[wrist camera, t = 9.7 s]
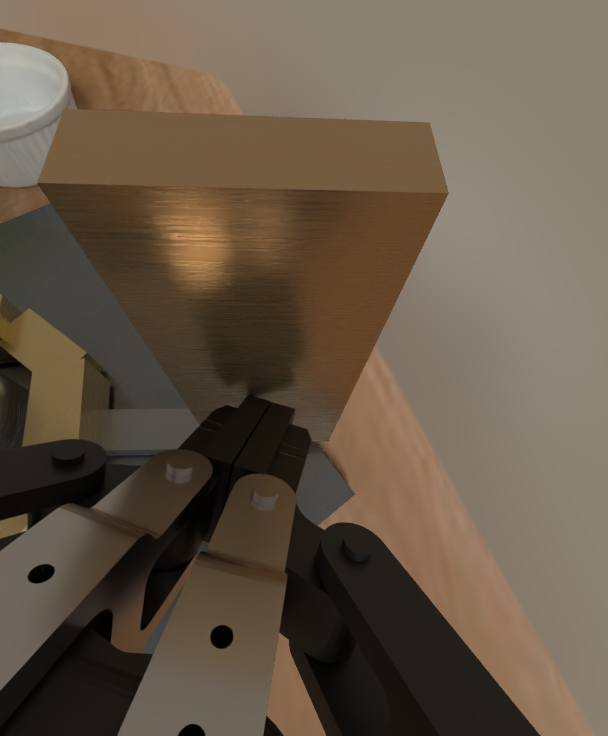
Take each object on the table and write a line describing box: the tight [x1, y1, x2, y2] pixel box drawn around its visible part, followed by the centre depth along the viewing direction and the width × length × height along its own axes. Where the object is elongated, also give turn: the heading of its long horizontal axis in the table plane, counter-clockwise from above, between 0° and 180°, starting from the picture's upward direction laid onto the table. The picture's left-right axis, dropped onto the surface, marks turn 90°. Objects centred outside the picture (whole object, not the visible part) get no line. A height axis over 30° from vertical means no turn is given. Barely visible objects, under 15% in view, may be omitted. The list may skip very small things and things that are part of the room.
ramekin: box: [0, 42, 77, 188], centre depth 24 cm, size 9×9×4 cm
